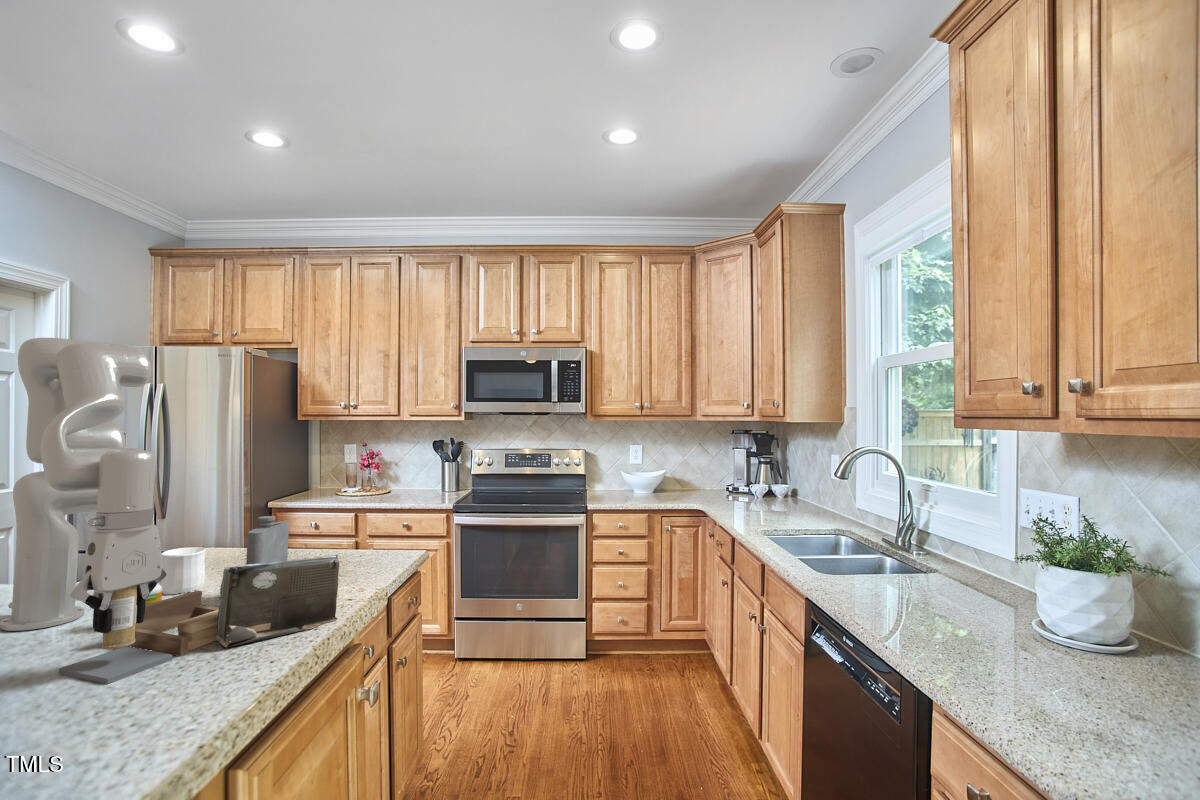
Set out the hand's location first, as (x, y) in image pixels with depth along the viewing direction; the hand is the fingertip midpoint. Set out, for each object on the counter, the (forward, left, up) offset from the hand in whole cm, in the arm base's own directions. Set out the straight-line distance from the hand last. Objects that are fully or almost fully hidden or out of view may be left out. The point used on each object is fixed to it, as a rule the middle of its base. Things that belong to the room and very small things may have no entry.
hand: (119, 625), depth 96 cm
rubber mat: (0, 0, -7) cm, 7 cm away
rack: (-3, +14, -7) cm, 16 cm away
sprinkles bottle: (0, 0, -4) cm, 4 cm away
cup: (-35, +36, -7) cm, 51 cm away
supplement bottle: (-18, +16, -7) cm, 25 cm away
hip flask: (-8, +36, -7) cm, 38 cm away
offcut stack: (+3, +14, -7) cm, 16 cm away
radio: (+11, +23, -7) cm, 26 cm away
